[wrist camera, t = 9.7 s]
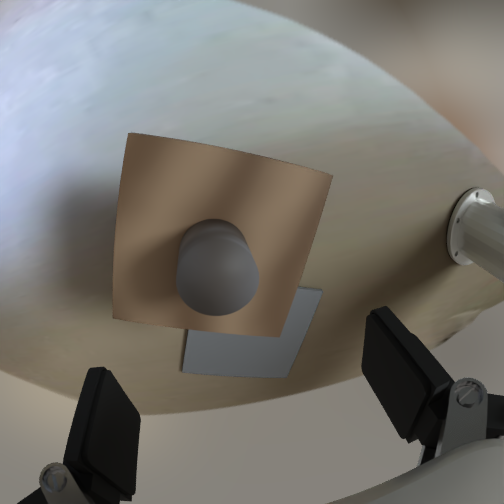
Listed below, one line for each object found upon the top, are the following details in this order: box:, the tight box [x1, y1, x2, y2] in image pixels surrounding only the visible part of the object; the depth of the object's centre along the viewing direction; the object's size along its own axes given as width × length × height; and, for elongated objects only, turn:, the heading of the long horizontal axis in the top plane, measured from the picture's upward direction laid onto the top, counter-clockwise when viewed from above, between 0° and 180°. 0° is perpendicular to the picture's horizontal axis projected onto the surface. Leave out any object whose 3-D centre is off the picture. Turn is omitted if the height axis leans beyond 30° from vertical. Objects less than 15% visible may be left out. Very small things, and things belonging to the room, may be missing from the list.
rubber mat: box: [182, 287, 323, 378], centre depth 36 cm, size 15×15×1 cm
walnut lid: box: [113, 133, 333, 337], centre depth 18 cm, size 13×13×5 cm
